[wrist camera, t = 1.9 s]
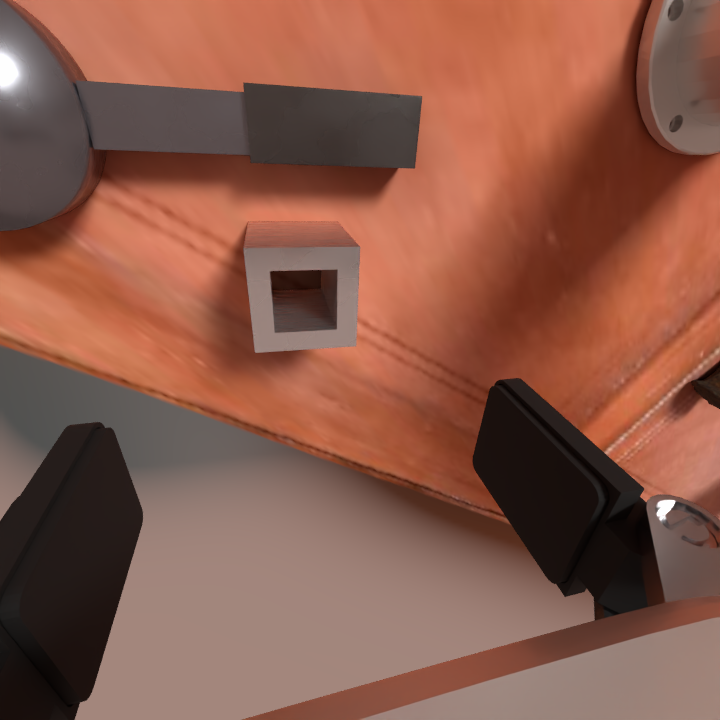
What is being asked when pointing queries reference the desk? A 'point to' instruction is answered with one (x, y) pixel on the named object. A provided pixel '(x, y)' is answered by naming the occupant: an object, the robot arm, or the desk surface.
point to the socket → (302, 306)
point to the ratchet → (166, 124)
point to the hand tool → (709, 388)
